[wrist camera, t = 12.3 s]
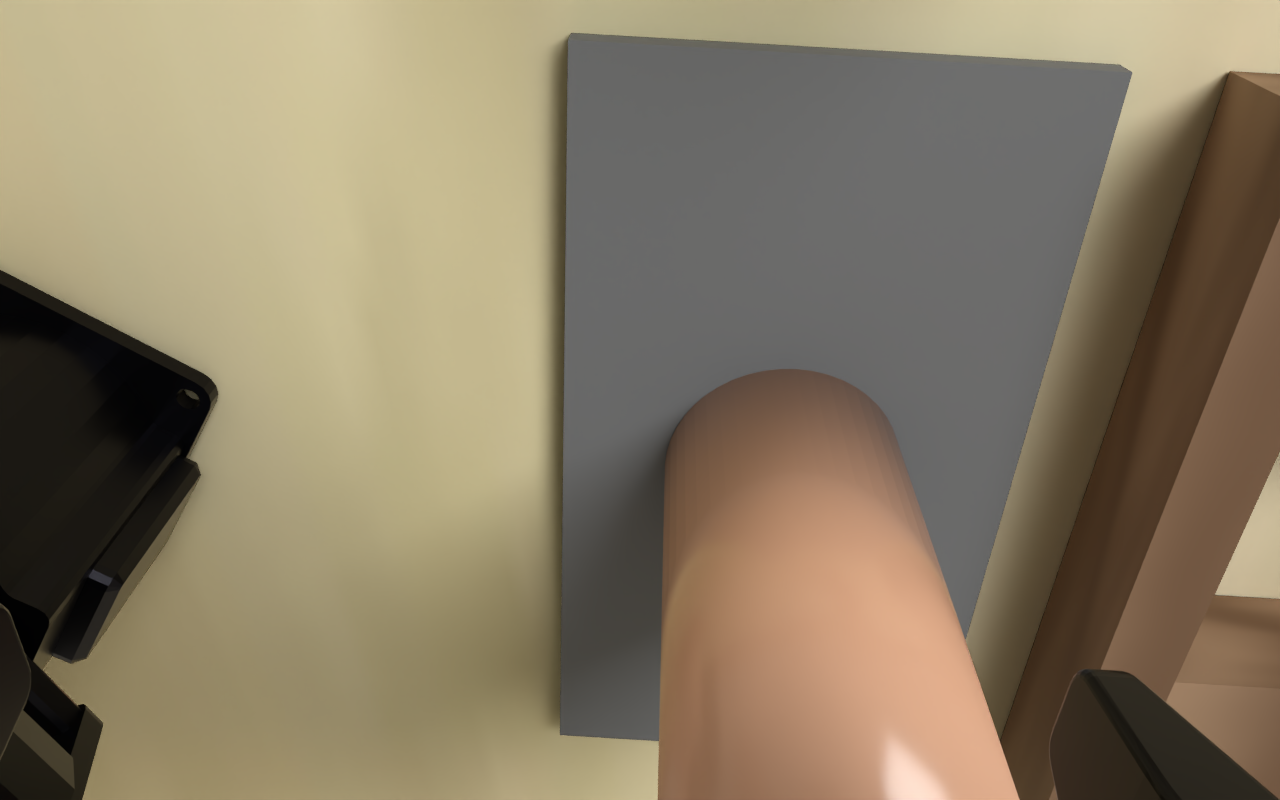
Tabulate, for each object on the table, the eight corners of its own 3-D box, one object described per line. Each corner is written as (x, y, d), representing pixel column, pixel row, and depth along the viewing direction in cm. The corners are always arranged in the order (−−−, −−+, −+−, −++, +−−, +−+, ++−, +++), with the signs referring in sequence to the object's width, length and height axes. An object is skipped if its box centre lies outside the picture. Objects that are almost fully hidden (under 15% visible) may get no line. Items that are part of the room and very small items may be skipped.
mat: (562, 717, 28) (559, 734, 27) (570, 33, 18) (567, 39, 18) (926, 739, 28) (930, 757, 27) (1119, 64, 18) (1132, 72, 18)
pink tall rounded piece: (620, 496, 23) (580, 984, 13) (755, 325, 21) (821, 771, 11) (803, 593, 24) (882, 1100, 15) (949, 444, 22) (1154, 933, 12)
